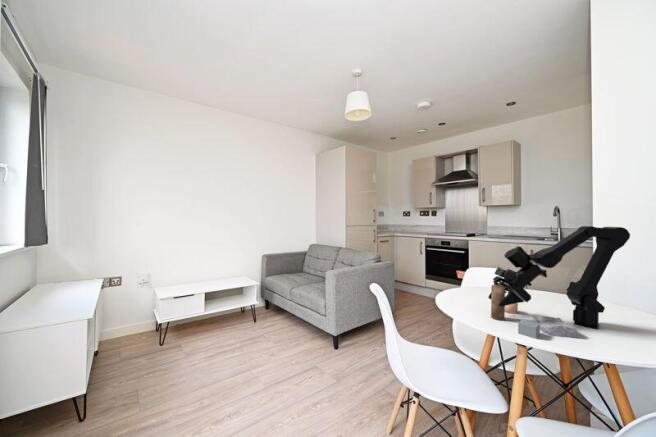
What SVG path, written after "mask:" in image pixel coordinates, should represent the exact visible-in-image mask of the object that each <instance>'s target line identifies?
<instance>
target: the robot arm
mask: <svg viewBox="0 0 656 437" xmlns="http://www.w3.org/2000/svg"><path fill="white" fill-rule="evenodd" d="M630 237H631V233H630V232H629V230H628V229H627V228H625V227H621V226H603V227H597V226H596V227H595V226H592V225H590V226H589V225H582V226H580V227H579V228H578V229H576V230H575V231H573V232H572V233H570V234H569V235H568V236H566V237H564V238H563V239H561V240H560V241H558V242H556V243H554V245H552V246H549V247H546V248H542V249H539V250H538V251H535V252H534V253H533V254H532V253H531V254H528V252H526V251H525V250H524V248H523V247H521V246H520V245H518V246H516V247H514V248H512V249H510V250H507V252H505V253H504V258H505V259H507V261H509V262H510V264H511V265H513V267H514V268H519V270H517V271H514V270H513V269H510V268H507V269H504V268H502V267H499V266H498V267H497V268H496V270H495V271H494V275H497V276H495V277H493V279H492V280H493V281H492V282H493V285H501V286H504V287H505V298H504V299H503V300H502V301H501V302H500V303H499V306H501V307H502V306H506V305H510V304H515V303H517V304H520V303H525V302H526V303H528V302H530V301H531V300H532V295H531V294H530V293H529V292H528V291H527V290H526V289H525V288H526V287H527V286H528V287H531V286H532V282H533V281H534V280H536V279H537V278H538V277H539V276H541V277H543V278H548V273H547V269H552V268H555V267H556V266H557V265H558V264H559V263H560V262H561V261H562V259H563V258H564V256H565V255H566V254H568V253H570V252H571V251H573V250H574V249H575V248H577V247H579V246H580V245H581V244H584V243H585V242H587V241H588V240H590V239H591V238H595V242H596V248H595V250H594V251H593V254H592V255H591V257H590V259H589V262H588V263H587V265H586V267H585V269H584V270H583V271H584V272H583V273H582V275H581V278H579V279H578V281H576V282H575V281H573V280H571V281H570V282H569V285H568V286H567V288H566V289H565V290H566V296H567V298H568V299H569V301H570V303H571V305H573V306H574V307H575V308H574V309H573V310H572V321H573V325H574V324H575V325H578V326H583V327H587V328H591V329H596V330H598V329H599V326H600V323H599V319H600V318H599V316H600V315H599V313H601V314H603V313H604V312H605V309H606V307H605V306H604V305H603V304H602V303H600V301H599V300H598V297H599V291H598V285H599V282H601V279H602V277H603V275H604V273H605V271H606V270H607V267H608V266H609V263H610V261H611V259H612V257H613V255H614V254H615V253H616V251H617V250H619V249H621V248H622V247H624V246H625V245H626V243H627V242H628V241H630V240H629V239H630ZM541 267H542V268H547V269H542V268H541ZM506 294H507V295H506ZM488 299H489V300H491V292H490V293H489V295H488Z"/></svg>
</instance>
